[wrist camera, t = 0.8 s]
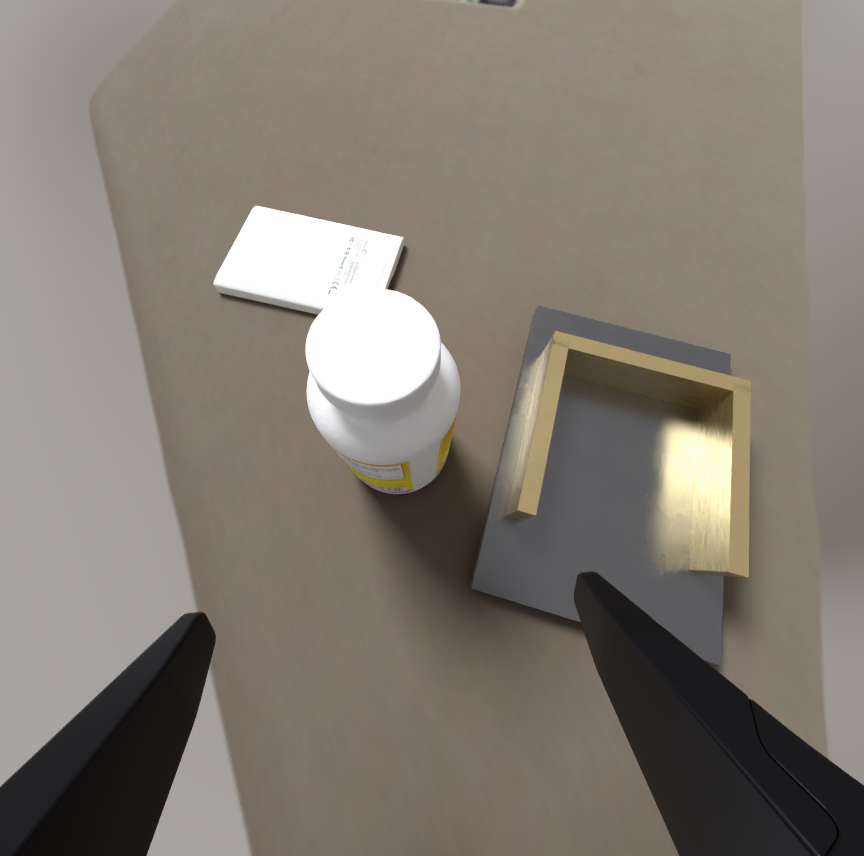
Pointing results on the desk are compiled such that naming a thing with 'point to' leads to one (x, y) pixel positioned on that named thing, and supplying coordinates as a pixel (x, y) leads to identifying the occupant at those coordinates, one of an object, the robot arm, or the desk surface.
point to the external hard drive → (305, 260)
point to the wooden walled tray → (621, 477)
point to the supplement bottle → (383, 388)
